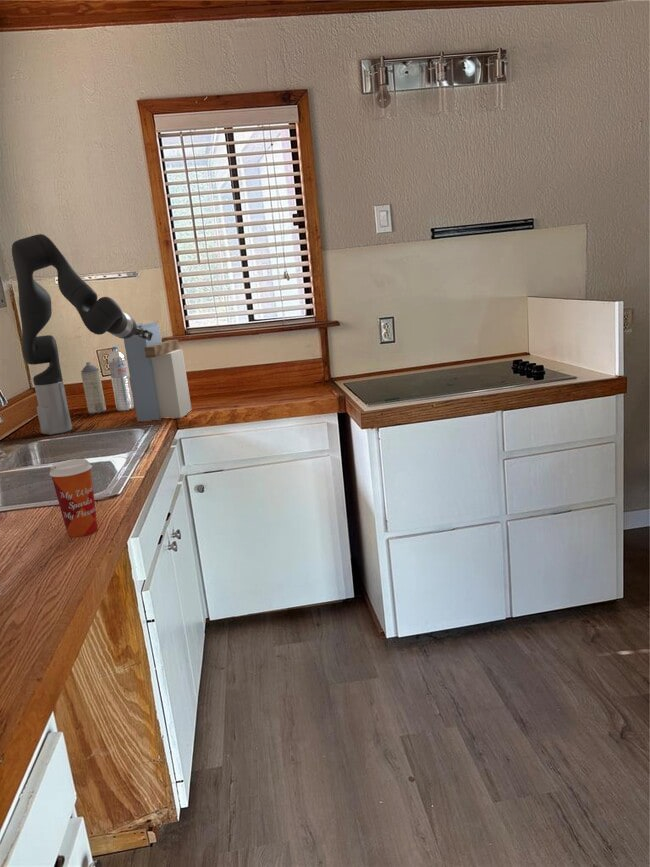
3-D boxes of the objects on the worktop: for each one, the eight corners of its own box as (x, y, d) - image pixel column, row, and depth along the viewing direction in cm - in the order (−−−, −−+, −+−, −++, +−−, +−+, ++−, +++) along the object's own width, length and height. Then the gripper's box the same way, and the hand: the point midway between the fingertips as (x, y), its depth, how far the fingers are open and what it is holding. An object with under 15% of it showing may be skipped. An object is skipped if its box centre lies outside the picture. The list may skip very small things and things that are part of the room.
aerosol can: (110, 410, 255) (101, 360, 250) (97, 414, 249) (88, 363, 244) (97, 410, 258) (88, 361, 253) (84, 413, 252) (75, 363, 247)
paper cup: (68, 543, 120) (53, 472, 117) (57, 532, 126) (43, 465, 123) (109, 530, 124) (96, 462, 121) (97, 520, 130) (84, 455, 127)
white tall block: (180, 417, 226) (170, 353, 220) (160, 419, 227) (150, 355, 222) (191, 411, 237) (182, 349, 231) (172, 412, 238) (163, 350, 232)
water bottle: (133, 406, 257) (123, 345, 251) (135, 409, 251) (124, 346, 245) (116, 409, 255) (105, 347, 249) (117, 412, 249) (106, 348, 243)
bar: (155, 357, 213) (154, 346, 212) (146, 357, 214) (144, 347, 213) (179, 349, 233) (177, 339, 232) (170, 349, 234) (168, 340, 233)
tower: (158, 420, 225) (143, 325, 217) (137, 421, 227) (121, 327, 219) (172, 412, 238) (158, 321, 230) (152, 413, 239) (137, 323, 231)
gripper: (93, 328, 191) (110, 335, 208) (138, 344, 192) (151, 350, 208) (101, 304, 191) (117, 313, 208) (146, 320, 192) (159, 328, 208)
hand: (134, 331), depth 208 cm, fingers open, 8 cm apart
